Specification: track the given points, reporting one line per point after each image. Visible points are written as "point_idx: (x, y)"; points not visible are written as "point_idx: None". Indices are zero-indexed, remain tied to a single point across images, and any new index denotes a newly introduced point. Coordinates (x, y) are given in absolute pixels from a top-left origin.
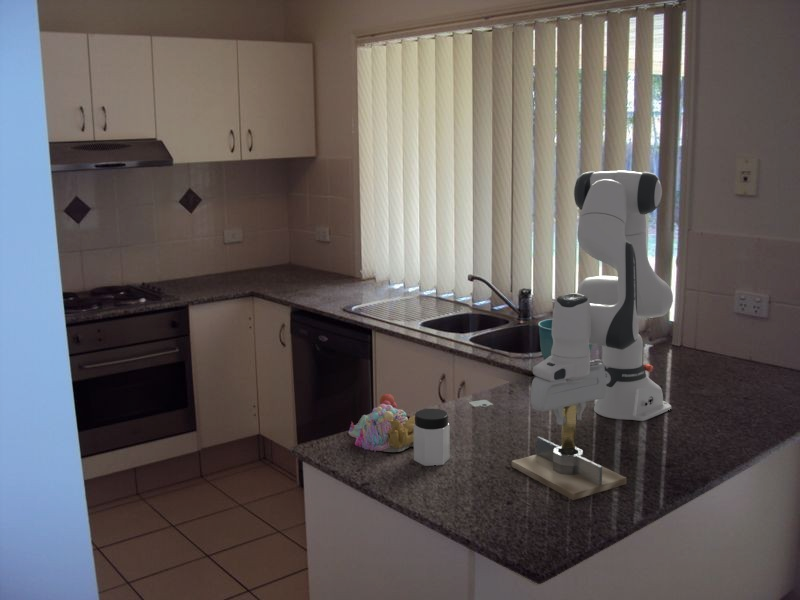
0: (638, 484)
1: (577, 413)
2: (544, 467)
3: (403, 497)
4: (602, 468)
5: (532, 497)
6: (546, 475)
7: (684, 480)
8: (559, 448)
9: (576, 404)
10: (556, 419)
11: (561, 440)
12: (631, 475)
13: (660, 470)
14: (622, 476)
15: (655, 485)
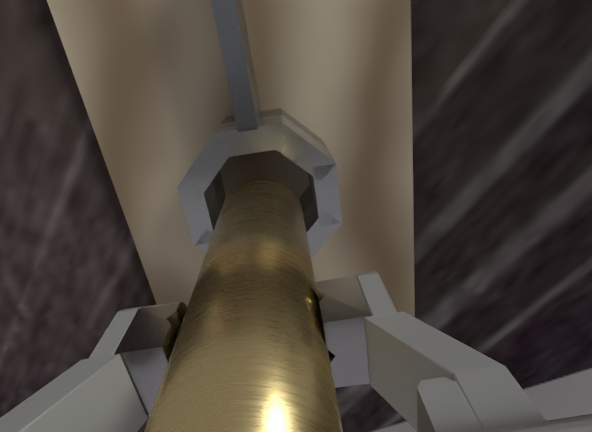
0: (438, 315)
1: (365, 361)
2: (173, 116)
3: None
4: (399, 222)
5: (52, 279)
6: (146, 196)
7: (575, 336)
8: (237, 154)
9: (419, 407)
10: (105, 332)
11: (220, 212)
12: (474, 255)
13: (588, 257)
14: (411, 303)
15: (476, 335)
